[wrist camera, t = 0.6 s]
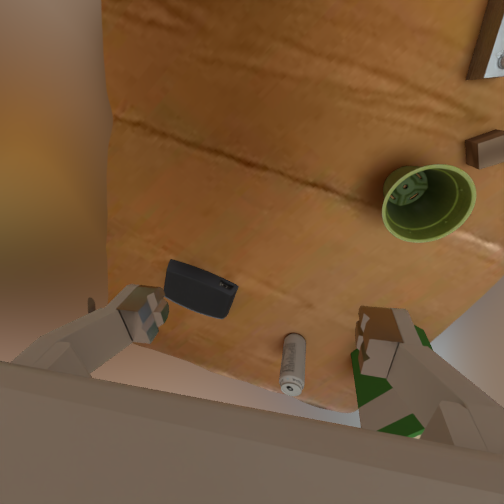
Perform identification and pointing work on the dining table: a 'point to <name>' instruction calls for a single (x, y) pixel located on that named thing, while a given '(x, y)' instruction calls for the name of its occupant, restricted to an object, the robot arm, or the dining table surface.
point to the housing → (489, 44)
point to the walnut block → (485, 149)
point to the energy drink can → (293, 365)
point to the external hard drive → (199, 290)
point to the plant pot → (427, 202)
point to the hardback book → (384, 402)
